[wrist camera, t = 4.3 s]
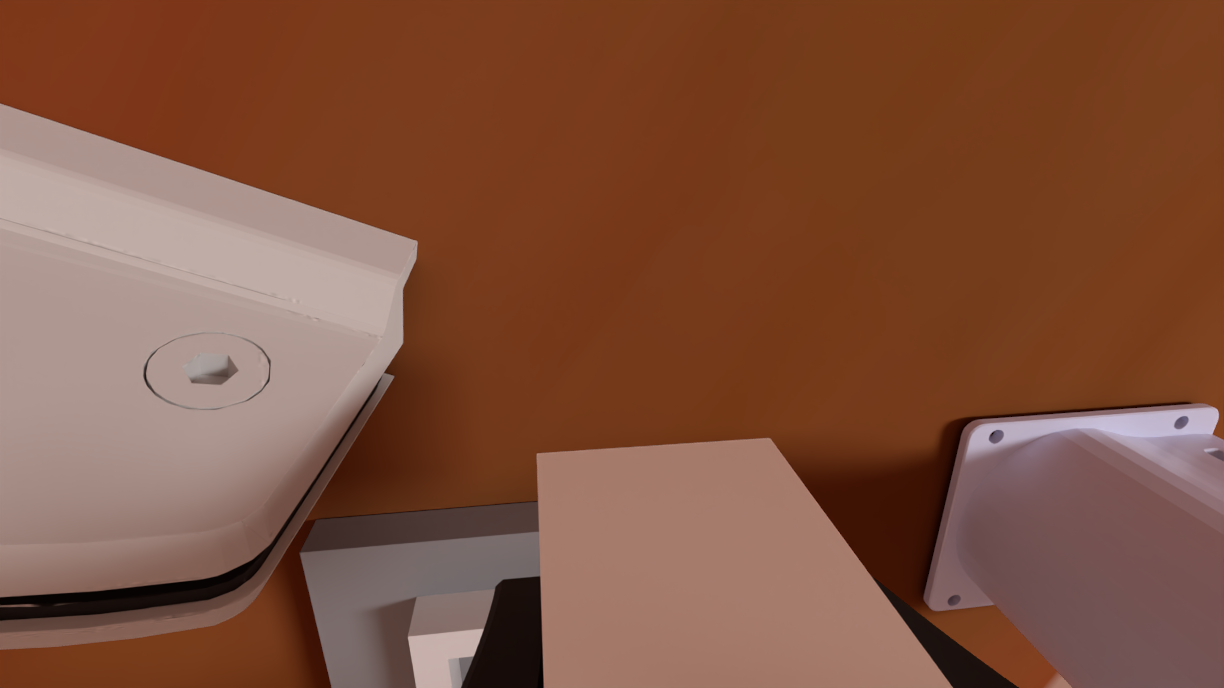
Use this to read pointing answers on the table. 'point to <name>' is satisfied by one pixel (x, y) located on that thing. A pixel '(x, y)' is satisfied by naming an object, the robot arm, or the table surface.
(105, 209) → the white speaker
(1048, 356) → the table surface
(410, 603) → the housing
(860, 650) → the cube with dome top
